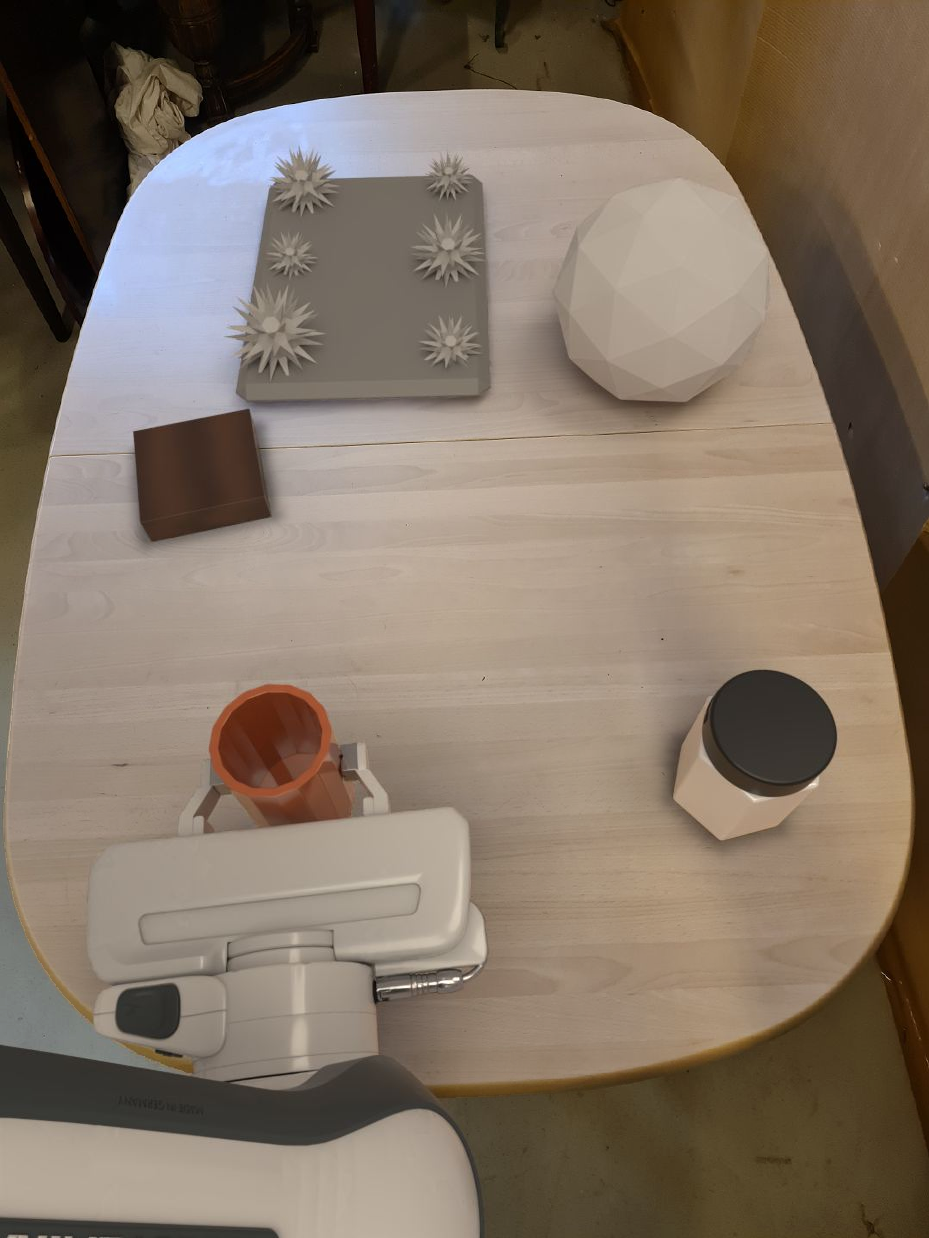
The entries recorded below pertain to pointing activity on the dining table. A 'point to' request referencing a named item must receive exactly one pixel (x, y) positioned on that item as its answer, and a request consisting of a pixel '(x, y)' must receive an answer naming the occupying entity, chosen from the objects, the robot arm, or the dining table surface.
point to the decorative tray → (367, 288)
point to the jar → (754, 753)
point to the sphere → (663, 290)
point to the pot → (281, 757)
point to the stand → (199, 475)
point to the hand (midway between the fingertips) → (286, 753)
